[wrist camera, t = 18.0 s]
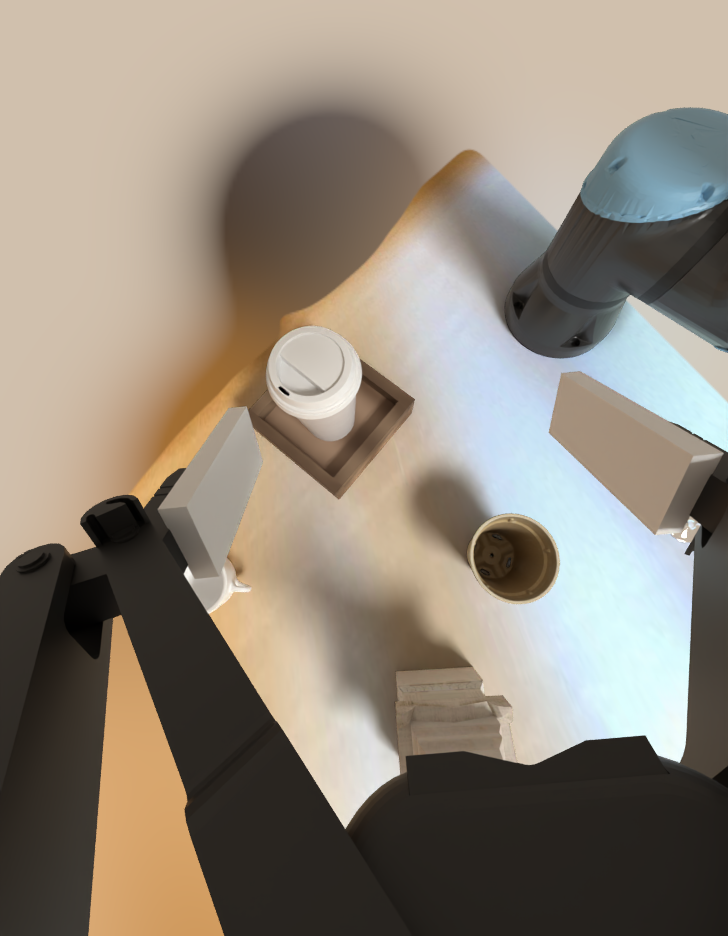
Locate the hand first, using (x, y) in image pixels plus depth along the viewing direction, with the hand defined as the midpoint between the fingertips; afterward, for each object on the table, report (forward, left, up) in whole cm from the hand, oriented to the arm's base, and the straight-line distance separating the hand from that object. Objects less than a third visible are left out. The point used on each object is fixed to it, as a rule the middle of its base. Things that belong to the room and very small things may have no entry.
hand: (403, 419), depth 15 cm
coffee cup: (-4, -13, -31) cm, 34 cm away
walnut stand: (-4, -13, -34) cm, 36 cm away
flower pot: (-3, +15, -34) cm, 37 cm away
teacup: (+22, -10, -34) cm, 41 cm away
